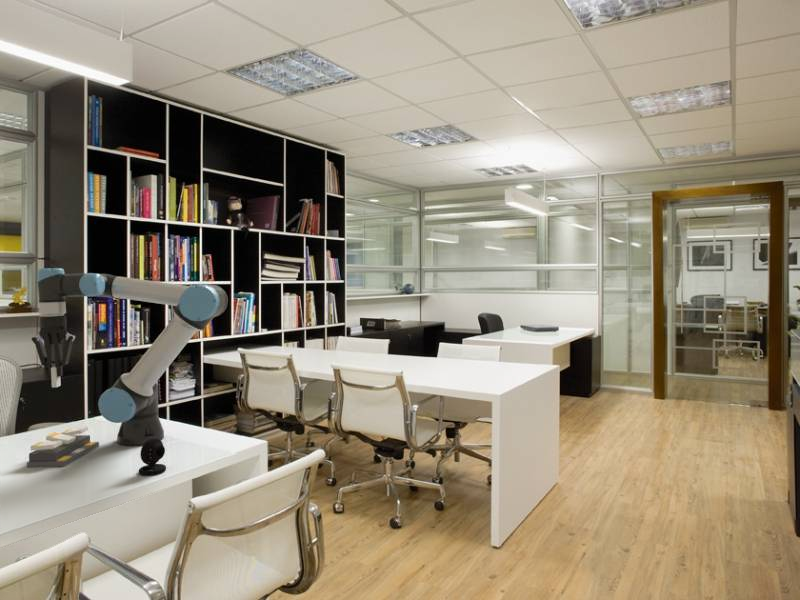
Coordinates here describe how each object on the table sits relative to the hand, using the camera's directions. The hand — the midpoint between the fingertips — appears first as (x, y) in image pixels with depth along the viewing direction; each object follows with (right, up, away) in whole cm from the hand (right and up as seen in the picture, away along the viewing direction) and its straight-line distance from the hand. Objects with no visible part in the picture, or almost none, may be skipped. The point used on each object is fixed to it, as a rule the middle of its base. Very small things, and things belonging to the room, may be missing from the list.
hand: (56, 386), depth 183 cm
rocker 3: (+3, -16, +4) cm, 17 cm away
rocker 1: (+4, -17, -11) cm, 20 cm away
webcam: (+40, -23, -18) cm, 49 cm away
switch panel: (+5, -22, -3) cm, 23 cm away
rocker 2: (+4, -16, -3) cm, 17 cm away
